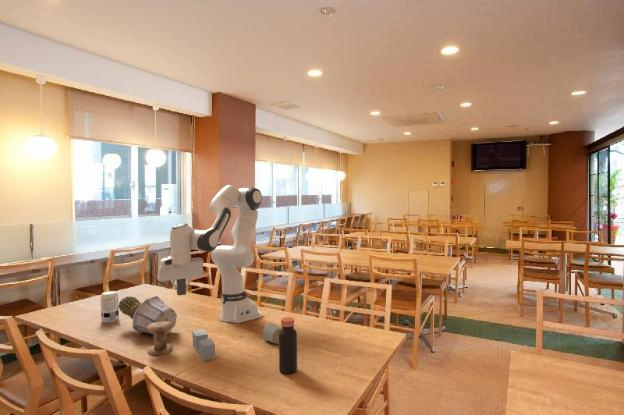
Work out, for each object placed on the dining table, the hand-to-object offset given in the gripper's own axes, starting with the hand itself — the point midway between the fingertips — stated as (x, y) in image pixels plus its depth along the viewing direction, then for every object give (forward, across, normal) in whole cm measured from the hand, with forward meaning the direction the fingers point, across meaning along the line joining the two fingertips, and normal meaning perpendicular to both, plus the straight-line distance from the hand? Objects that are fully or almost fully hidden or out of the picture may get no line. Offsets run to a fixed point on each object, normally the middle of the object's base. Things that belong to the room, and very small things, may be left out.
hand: (181, 288), depth 177 cm
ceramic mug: (+24, -37, +26) cm, 51 cm away
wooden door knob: (+23, +11, +10) cm, 28 cm away
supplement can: (+24, +29, -43) cm, 57 cm away
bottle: (+24, -29, +54) cm, 66 cm away
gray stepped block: (+23, -5, +20) cm, 31 cm away
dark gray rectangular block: (+3, 0, 0) cm, 3 cm away
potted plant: (+24, +14, -17) cm, 32 cm away
